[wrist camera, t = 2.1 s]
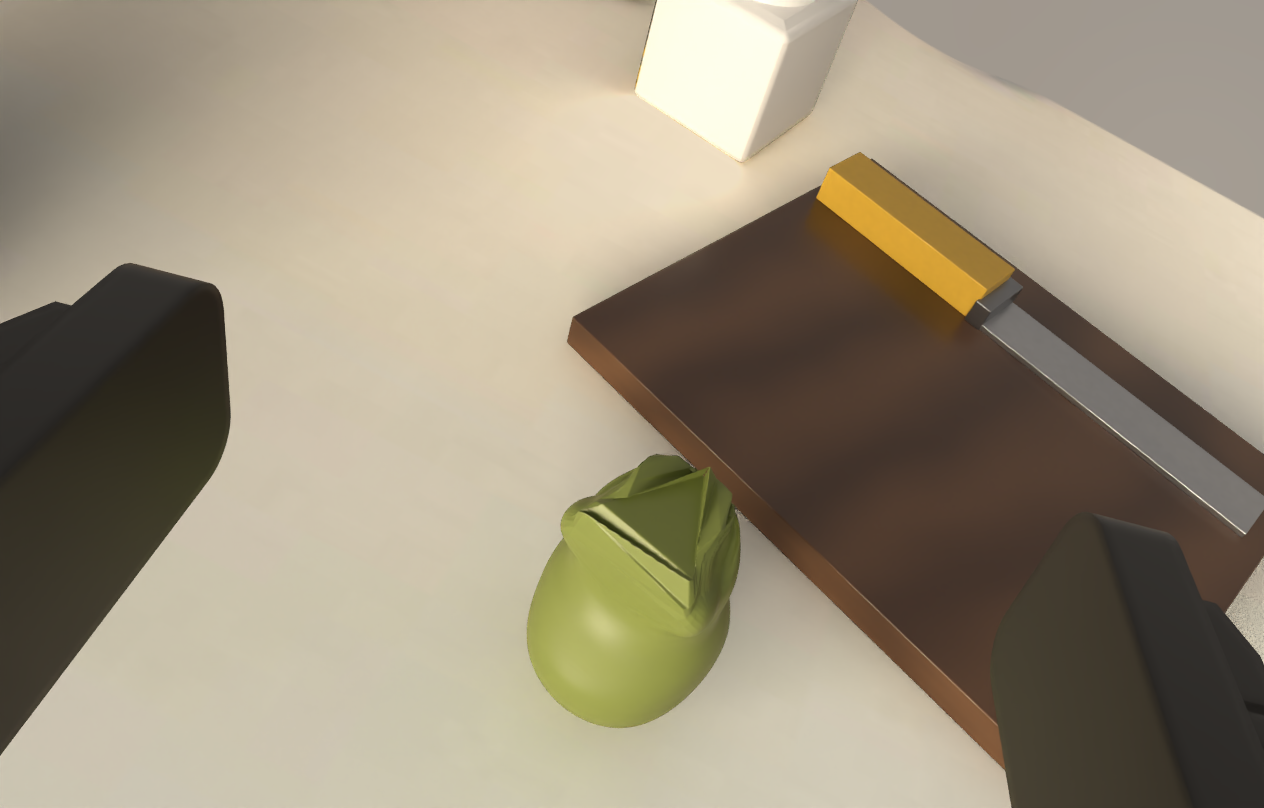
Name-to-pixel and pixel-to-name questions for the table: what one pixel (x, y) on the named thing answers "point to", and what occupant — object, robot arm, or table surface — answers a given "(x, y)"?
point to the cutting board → (897, 436)
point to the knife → (1025, 330)
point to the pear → (636, 594)
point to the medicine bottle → (740, 65)
